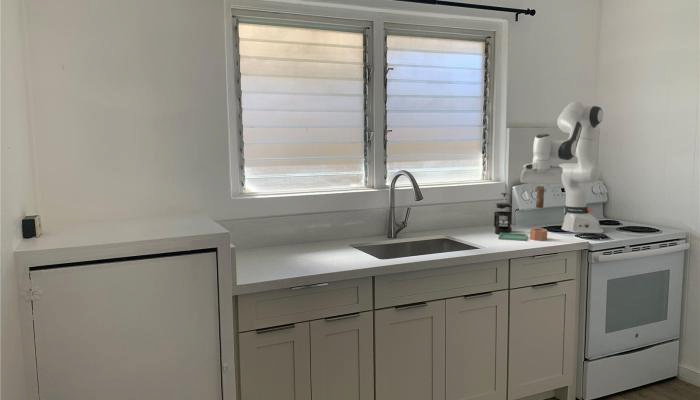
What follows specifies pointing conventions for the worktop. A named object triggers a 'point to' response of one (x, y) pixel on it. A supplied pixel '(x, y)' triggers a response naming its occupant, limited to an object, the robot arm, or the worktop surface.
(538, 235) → the cup
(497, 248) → the worktop surface
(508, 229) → the french press
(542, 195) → the dowel
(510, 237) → the tray
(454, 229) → the worktop surface
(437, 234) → the worktop surface
